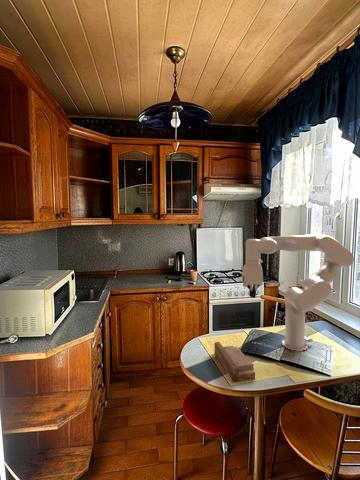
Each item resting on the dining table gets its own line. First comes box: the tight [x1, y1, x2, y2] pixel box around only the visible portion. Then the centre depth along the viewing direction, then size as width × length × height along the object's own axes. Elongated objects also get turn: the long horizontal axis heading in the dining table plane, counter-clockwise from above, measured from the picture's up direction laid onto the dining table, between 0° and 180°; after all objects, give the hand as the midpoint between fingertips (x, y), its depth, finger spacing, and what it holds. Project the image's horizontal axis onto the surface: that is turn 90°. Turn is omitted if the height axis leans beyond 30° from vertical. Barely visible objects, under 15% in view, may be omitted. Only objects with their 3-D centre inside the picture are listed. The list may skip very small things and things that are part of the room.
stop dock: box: [214, 341, 256, 383], centre depth 125 cm, size 10×24×6 cm, turn 12°
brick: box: [225, 346, 255, 372], centre depth 126 cm, size 16×8×5 cm, turn 17°
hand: (252, 297), depth 140 cm, fingers closed
